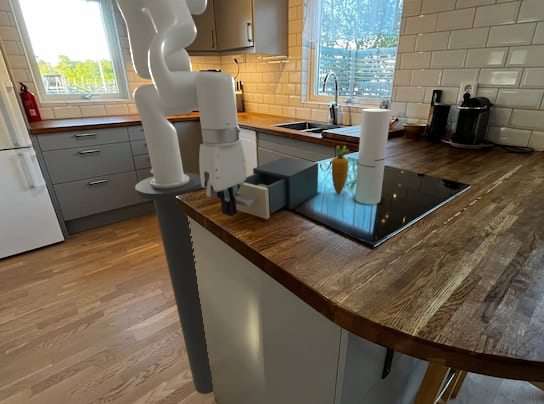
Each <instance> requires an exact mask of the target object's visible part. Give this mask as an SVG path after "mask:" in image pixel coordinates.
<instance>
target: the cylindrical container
mask: <svg viewBox="0 0 544 404" xmlns="http://www.w3.org/2000/svg"><path fill="white" fill-rule="evenodd" d="M391 111H392V109H388V108H375V107H374V108H371V107H370V108H363V109H361V120H360V133H359V136H360V137H359V143H358V144H359V145H358V147H359V148H358V158H357V169H356V170H357V172H356V184H355V185H356V186H355V196H354V198H355V201H356V202H358V203H361V204H362V205H363V204H364V205H376V204H379V203H380V202H381V199H382V190H383V182H384V173H385V165H386V156H387V146H388V137H389V129H390V120H391Z"/></svg>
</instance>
